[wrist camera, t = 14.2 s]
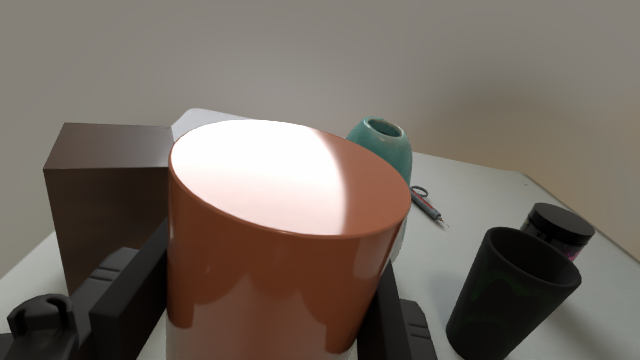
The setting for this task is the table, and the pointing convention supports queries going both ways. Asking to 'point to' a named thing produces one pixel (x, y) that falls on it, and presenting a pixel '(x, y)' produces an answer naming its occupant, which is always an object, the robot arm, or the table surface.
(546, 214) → the supplement container
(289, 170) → the orange glossy cylinder
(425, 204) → the syringe
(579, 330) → the table surface
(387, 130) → the vase
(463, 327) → the cup
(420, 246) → the table surface
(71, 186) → the dark brown rectangular block
